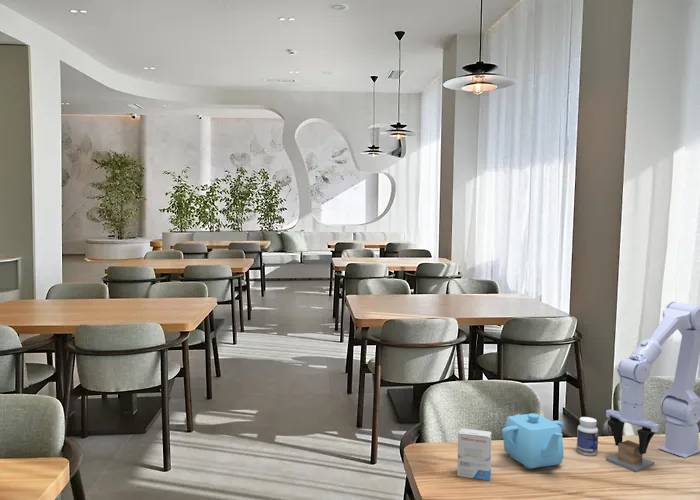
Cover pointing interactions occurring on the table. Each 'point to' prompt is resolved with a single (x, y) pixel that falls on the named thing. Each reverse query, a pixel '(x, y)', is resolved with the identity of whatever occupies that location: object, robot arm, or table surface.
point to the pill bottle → (587, 436)
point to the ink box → (474, 454)
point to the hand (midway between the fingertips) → (630, 449)
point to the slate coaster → (633, 467)
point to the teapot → (533, 440)
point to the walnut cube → (629, 452)
